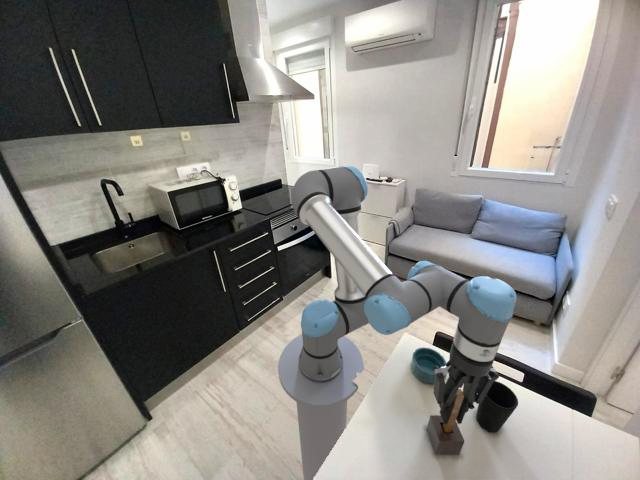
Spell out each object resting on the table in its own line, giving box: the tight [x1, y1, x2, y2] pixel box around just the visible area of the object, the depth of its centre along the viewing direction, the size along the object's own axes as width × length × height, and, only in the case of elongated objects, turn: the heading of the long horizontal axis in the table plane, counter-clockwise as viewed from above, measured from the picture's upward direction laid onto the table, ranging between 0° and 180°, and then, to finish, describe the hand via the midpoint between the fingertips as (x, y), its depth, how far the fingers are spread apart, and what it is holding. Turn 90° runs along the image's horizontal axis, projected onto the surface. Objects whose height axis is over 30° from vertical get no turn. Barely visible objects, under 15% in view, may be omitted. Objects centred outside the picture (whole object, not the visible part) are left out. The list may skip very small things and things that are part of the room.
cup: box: [475, 380, 519, 434], centre depth 68 cm, size 8×8×12 cm
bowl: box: [410, 347, 447, 385], centre depth 84 cm, size 10×10×5 cm
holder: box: [426, 414, 465, 456], centre depth 65 cm, size 6×6×6 cm
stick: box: [442, 388, 464, 433], centre depth 62 cm, size 2×2×20 cm
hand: (450, 417), depth 62 cm, fingers open, 2 cm apart
